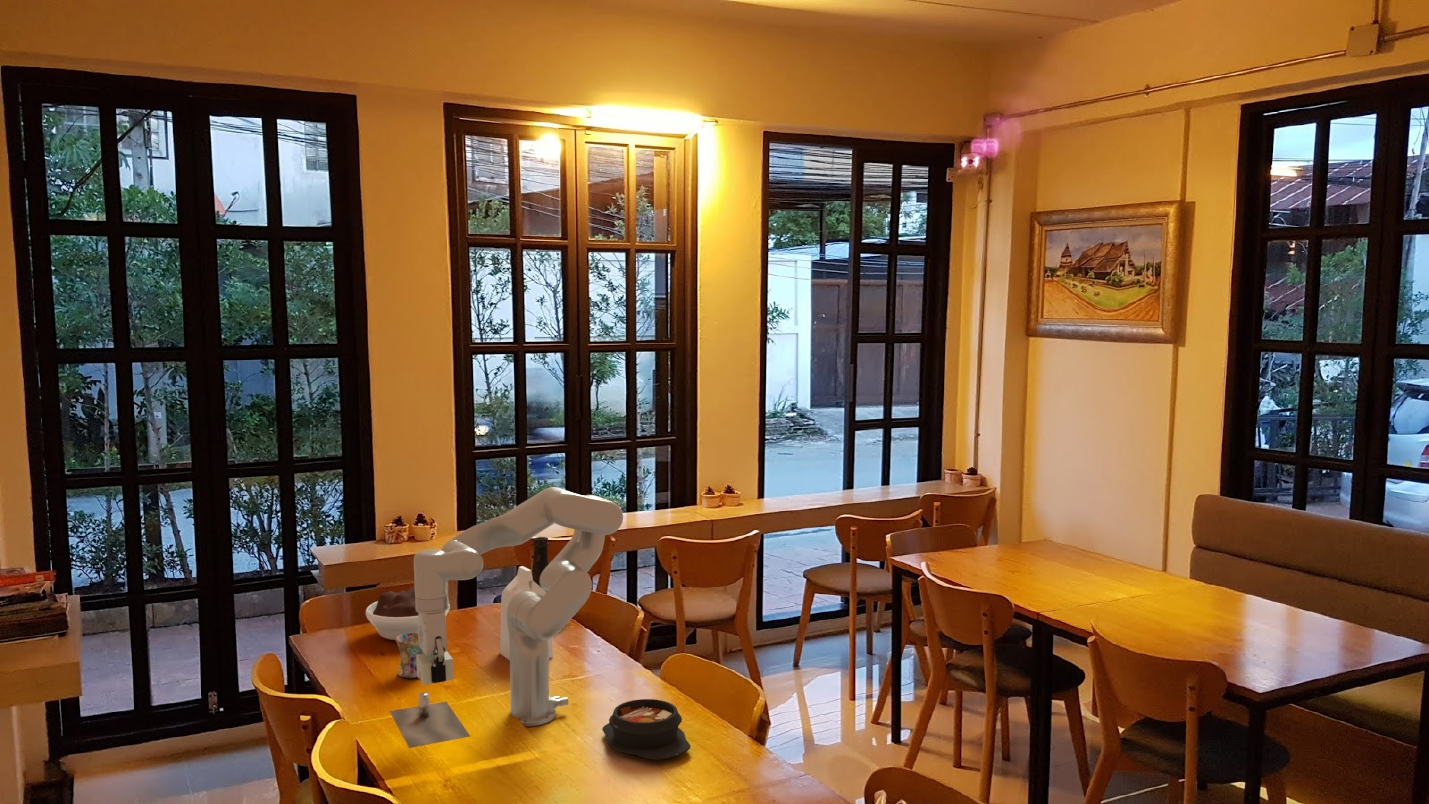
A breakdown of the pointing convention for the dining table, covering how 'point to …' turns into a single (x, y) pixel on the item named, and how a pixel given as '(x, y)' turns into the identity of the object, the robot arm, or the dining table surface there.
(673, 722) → the casserole
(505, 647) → the milk
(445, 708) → the board
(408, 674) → the mug
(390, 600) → the bowl of chocolate mousse
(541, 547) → the glass bottle
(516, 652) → the robot arm
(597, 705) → the dining table surface
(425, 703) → the post
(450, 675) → the white rectangular block
